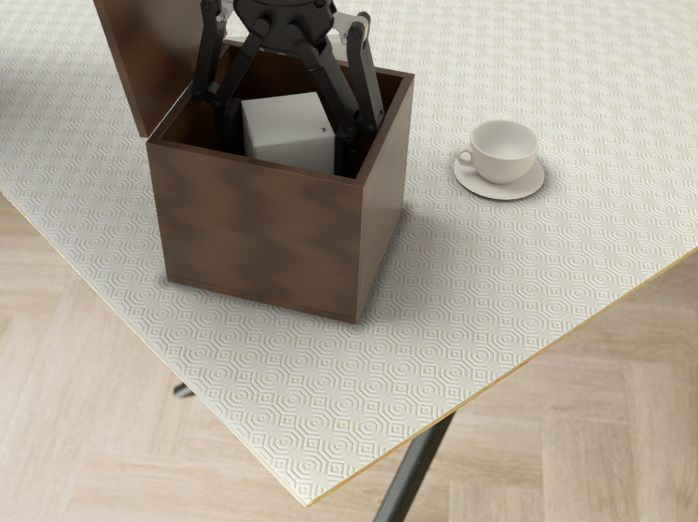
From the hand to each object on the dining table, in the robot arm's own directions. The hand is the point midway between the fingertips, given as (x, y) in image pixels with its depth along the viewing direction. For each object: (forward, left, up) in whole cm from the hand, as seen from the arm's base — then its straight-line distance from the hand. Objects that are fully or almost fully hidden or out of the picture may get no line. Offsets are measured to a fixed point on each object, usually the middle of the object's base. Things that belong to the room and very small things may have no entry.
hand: (288, 176), depth 85 cm
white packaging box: (0, 0, -6) cm, 6 cm away
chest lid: (-11, 0, +18) cm, 21 cm away
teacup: (+18, +18, -8) cm, 27 cm away
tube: (-14, +28, -8) cm, 33 cm away
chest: (0, 0, -8) cm, 8 cm away
